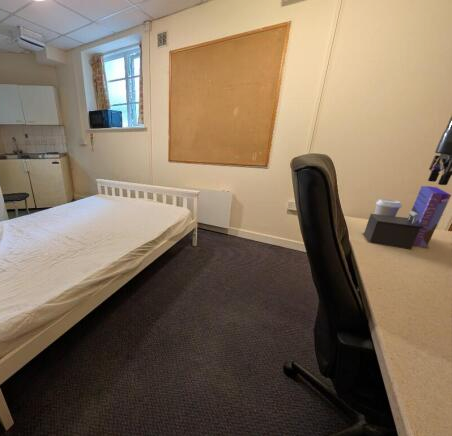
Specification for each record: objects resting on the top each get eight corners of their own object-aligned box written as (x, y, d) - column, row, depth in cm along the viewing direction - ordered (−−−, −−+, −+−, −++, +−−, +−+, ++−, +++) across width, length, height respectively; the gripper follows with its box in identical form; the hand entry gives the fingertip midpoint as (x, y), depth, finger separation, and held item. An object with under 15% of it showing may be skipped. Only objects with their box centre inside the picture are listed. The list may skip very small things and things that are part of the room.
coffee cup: (397, 231, 113) (408, 203, 108) (382, 232, 112) (392, 204, 106) (377, 224, 122) (387, 198, 117) (363, 225, 120) (372, 199, 115)
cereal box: (426, 247, 96) (451, 194, 88) (410, 244, 99) (433, 192, 90) (416, 234, 109) (437, 187, 101) (402, 232, 112) (421, 185, 103)
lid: (411, 220, 100) (416, 209, 98) (423, 228, 91) (428, 217, 89) (370, 215, 107) (373, 205, 105) (376, 222, 98) (380, 211, 96)
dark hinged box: (401, 239, 104) (409, 220, 100) (411, 249, 95) (420, 228, 91) (363, 233, 110) (370, 215, 107) (369, 242, 101) (376, 222, 98)
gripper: (482, 141, 76) (460, 187, 81) (459, 140, 87) (441, 181, 93) (450, 140, 79) (431, 185, 85) (431, 140, 91) (416, 179, 96)
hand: (436, 183), depth 89 cm, fingers open, 8 cm apart
